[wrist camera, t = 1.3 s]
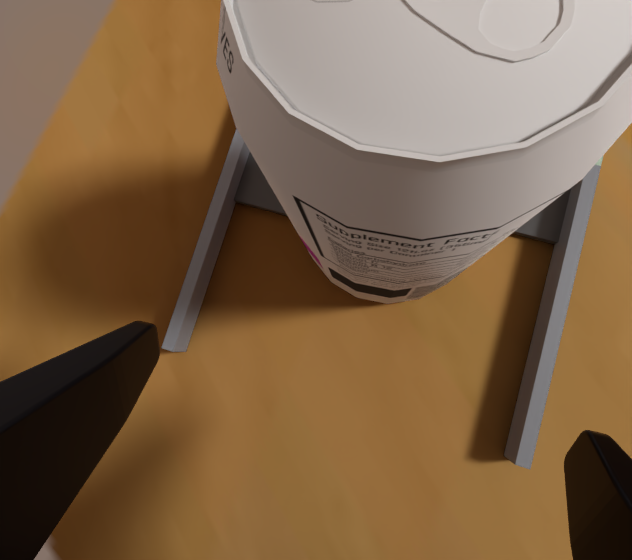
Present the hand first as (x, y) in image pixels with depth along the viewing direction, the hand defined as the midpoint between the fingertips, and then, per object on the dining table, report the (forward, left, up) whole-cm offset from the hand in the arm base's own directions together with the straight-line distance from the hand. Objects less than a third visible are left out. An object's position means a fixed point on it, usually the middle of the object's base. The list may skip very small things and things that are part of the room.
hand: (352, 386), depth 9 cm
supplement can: (+7, +1, -12) cm, 14 cm away
